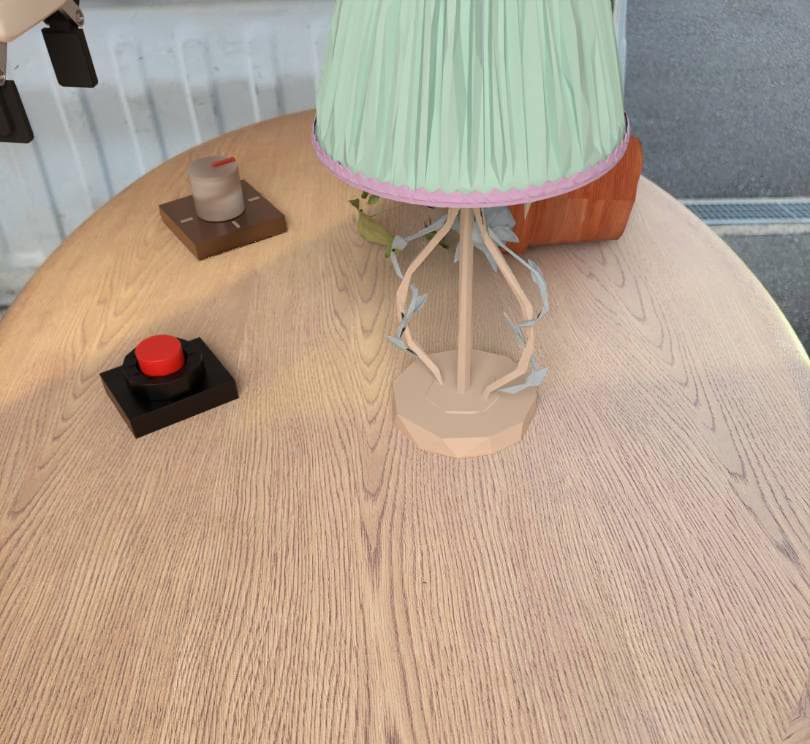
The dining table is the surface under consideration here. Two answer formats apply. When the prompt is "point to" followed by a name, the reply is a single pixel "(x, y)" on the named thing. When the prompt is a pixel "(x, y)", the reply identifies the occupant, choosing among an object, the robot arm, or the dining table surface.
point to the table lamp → (469, 166)
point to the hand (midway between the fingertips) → (48, 112)
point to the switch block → (169, 389)
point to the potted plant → (554, 211)
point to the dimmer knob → (216, 188)
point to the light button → (160, 355)
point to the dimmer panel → (223, 224)
